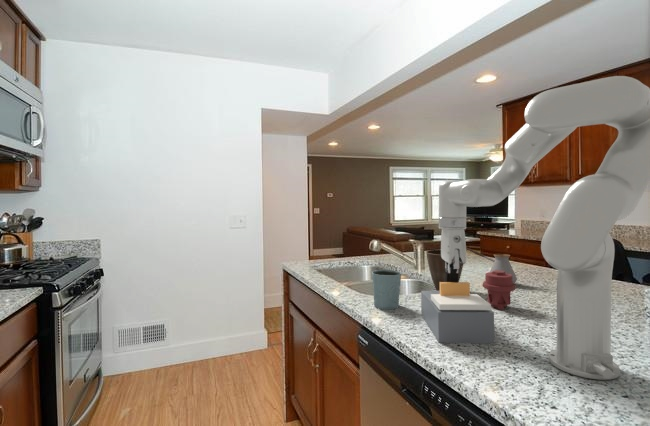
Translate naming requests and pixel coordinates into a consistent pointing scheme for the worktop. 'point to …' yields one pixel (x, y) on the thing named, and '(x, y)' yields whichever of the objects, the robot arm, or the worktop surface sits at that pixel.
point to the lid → (458, 297)
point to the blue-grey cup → (386, 289)
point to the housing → (457, 322)
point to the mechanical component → (499, 288)
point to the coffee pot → (499, 263)
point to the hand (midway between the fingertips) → (451, 285)
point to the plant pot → (438, 267)
